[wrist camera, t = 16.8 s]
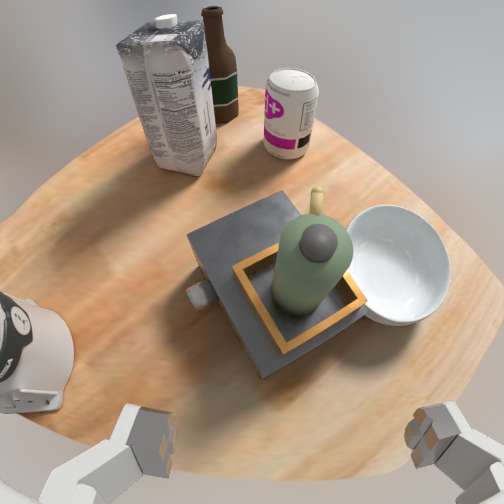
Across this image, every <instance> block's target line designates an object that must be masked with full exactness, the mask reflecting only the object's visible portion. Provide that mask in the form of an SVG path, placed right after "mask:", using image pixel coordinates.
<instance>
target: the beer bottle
mask: <svg viewBox="0 0 504 504" xmlns="http://www.w3.org/2000/svg"><path fill="white" fill-rule="evenodd" d="M222 14H223V10H222V8H221V7H217V6H211V7H207V8H204V9H202V14H201V16H203V22H204V32H205V39H206V45H207V53H208V62H209V71H210V81H211V90H212V99H213V108H214V116H215V123H225V122H229V121H231V120H232V119H233V118H235V117H236V116H238V86H237V68H236V59H235V55H234V53H233V51H232V50H231V49H230V48H229V47H228V46H227V44H226V41H225V37H224V30H223V23H222Z"/></svg>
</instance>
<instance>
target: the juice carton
mask: <svg viewBox="0 0 504 504" xmlns="http://www.w3.org/2000/svg"><path fill="white" fill-rule="evenodd" d="M116 47H117V50H118V52H119V55H120V57H121V60H122V63H123V67H124V70H125V73H126V77H127V80H128V83H129V86H130V89H131V92H132V96H133V99H134V102H135V105H136V108H137V111H138V114H139V117H140V120H141V123H142V126H143V129H144V132H145V135H146V138H147V141H148V143H149V146H150V149H151V152H152V154H153V157H154V159H155V162H156V164H157V166H158V167H159V168H162V169H166V170H172V171H178V172H182V173H186V174H189V175H194V176H201V174H202V173H203V171H204V169H205V167H206V165H207V163H208V161H209V159H210V158H211V156H212V155H213V153H214V151H215V149H216V143H217V134H216V125H215V116H214V108H213V99H212V90H211V81H210V71H209V62H208V53H207V45H206V39H205V32H204V22H203V21H200V20H195V21H185V22H177V15H174V14H171V15H164V16H160V17H157V18H156V19H155V22H149V23H146V24H145V25H143V26H142V27H141V28H139V29H138V30H136V31H135V32H133V33H132V34H130V35H129V36H128V37H127V38H125V39H124V40H122V41H120V42H119V43H118V44H117V45H116Z"/></svg>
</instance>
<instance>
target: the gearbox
mask: <svg viewBox="0 0 504 504" xmlns="http://www.w3.org/2000/svg"><path fill="white" fill-rule="evenodd" d="M299 216H301V214H300V213H299V211H298V210H297V209H296V207H295V206H294V205H293V203H292V202H291V201H290V199H289V198H288V197H287V196H286V194H285V193H284V192H283V190H282V191H280V192H277V193H275V194H273V195H271V196H268V197H266V198H264V199H262V200H259V201H257V202H255V203H253V204H251V205H248V206H246V207H244V208H242V209H240V210H238V211H235V212H233V213H231V214H229V215H227V216H225V217H223V218H220V219H218V220H216V221H214V222H212V223H210V224H208V225H206V226H203V227H201V228H199V229H197V230H195V231H193V232H191V233H189V234H187V237H188V239H189V242H190V245H191V247H192V250H193V252H194V255H195V257H196V260H197V262H198V265H199V267H200V269H201V271H202V273H203V275H204V277H205V278H206V279H205V280H203V281H201V282H199V283H197V284H195V285H193V286H191V287H189V288H187V289H185V291H186V293H187V295H188V297H189V299H190V301H191V303H192V305H193V307H194V308H195V310H196V312H197V311H199V310H201V309H203V308H205V307H207V306H209V305H211V304H213V303H215V302H217V301H218V303H219V305H220V307H221V308H222V310H223V312H224V314H225V316H226V318H227V319H228V321H229V323H230V325H231V327H232V329H233V330H234V332H235V334H236V336H237V338H238V339H239V341H240V343H241V345H242V346H243V348H244V350H245V352H246V353H247V355H248V357H249V359H250V360H251V362H252V364H253V366H254V367H255V369H256V371H257V372H258V374H259V376H260V378H261V379H263V378H265V377H267V376H269V375H271V374H272V373H274V372H276V371H278V370H280V369H281V368H283V367H285V366H286V365H288V364H290V363H292V362H293V361H295V360H297V359H298V358H300V357H302V356H303V355H305V354H307V353H308V352H310V351H312V350H313V349H315V348H317V347H318V346H320V345H321V344H323V343H324V342H326V341H328V340H329V339H331V338H332V337H334V336H335V335H337V334H338V333H340V332H341V331H343V330H345V329H346V328H347V327H349V326H350V325H352V324H353V323H354V322H356V321H357V320H358V319H360V318H361V317H363V316H364V315H365V314H367V313H368V310H367V308H366V307H365V305H364V304H365V303H366V302H367V301H368V300H367V299H366V297H365V296H364V294H363V293H362V291H361V290H360V288H359V287H358V285H357V284H356V282H355V281H354V279H353V278H352V277H351V275H350V274H349V272H348V271H346V272H345V273H344V275H343V276H342V277H341V279H340V280H339V281H338V282H337V284H336V285H335V286H334V287H333V289H332V290H331V291H330V293H329V294H328V295H327V296H326V298H325V299H324V300H323V301H322V302H321V304H320V305H319V306H318V307H317V308H316V309H315V310H314V311H313V312H312V313H310V314H308V315H305V316H291V315H288V314H286V313H284V312H282V311H281V310H280V309H279V308H278V307H277V306H276V304H275V303H274V301H273V298H272V293H271V288H272V282H273V276H274V271H275V265H276V259H277V253H278V247H279V241H280V237H281V234H282V231H283V230H284V228H285V227H286V225H287V224H288V223H289V222H290V221H292V220H293V219H295V218H297V217H299Z"/></svg>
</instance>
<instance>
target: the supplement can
mask: <svg viewBox="0 0 504 504" xmlns="http://www.w3.org/2000/svg"><path fill="white" fill-rule="evenodd" d="M318 94H319V89H318V85H317V83H316V79H315V78H314V77H313V75H311V74H310V73H308V72H306V71H303V70H300V69H294V68H283V69H278V70H276V71H274V72H272V74H271V75H270V78H269V79H268V80H267V82H266V92H265V119H264V147H265V149H266V150H267V151H268V152H269V153H270V154H271V155H273V156H275V157H277V158H280V159H286V160H287V159H295V158H298V157H301V156H302V155H304V154H305V153H306V152H307V149H308V147H309V142H310V137H311V131H312V126H313V121H314V116H315V110H316V105H317V99H318Z"/></svg>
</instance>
